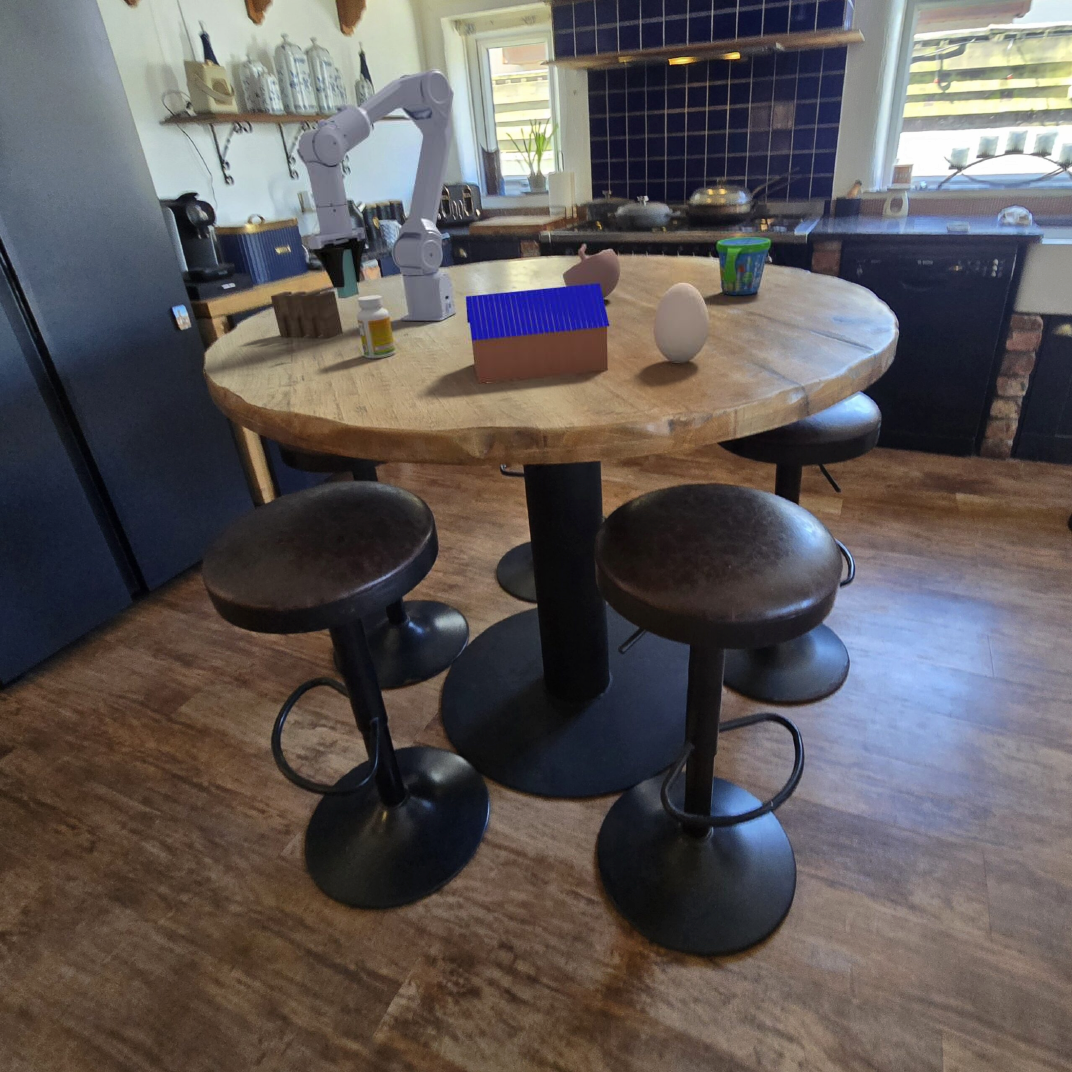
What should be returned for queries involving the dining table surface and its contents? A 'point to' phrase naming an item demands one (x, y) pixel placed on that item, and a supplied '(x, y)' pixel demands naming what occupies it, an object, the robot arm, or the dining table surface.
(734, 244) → the snack cup
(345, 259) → the teal tile
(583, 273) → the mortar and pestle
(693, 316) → the egg
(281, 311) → the tile
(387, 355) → the supplement bottle
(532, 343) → the house
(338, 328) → the tile
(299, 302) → the tile
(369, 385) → the dining table surface
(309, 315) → the tile
